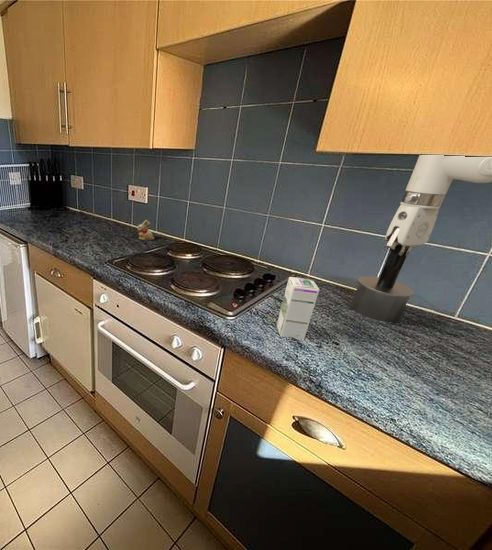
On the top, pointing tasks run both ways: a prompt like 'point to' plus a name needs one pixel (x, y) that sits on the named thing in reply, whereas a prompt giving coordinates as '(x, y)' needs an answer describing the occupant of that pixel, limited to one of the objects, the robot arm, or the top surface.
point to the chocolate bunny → (145, 231)
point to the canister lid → (386, 284)
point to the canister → (378, 305)
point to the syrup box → (297, 307)
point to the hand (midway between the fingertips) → (392, 267)
